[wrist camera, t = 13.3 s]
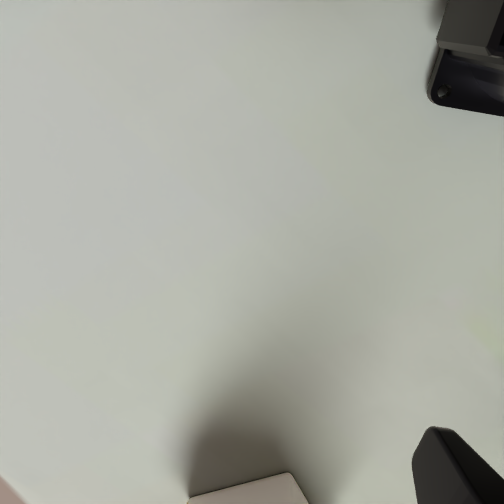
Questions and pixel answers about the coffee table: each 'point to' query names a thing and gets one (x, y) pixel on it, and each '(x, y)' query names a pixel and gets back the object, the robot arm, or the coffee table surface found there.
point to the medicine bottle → (257, 493)
